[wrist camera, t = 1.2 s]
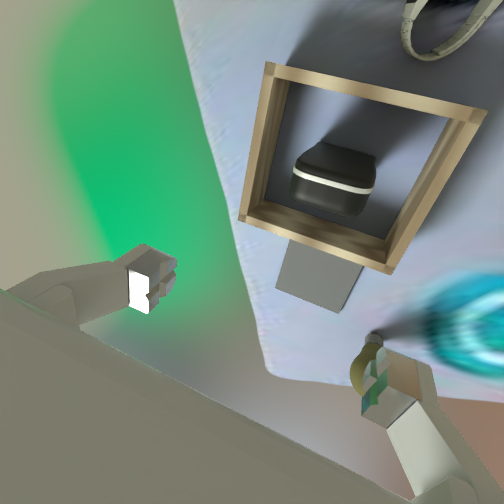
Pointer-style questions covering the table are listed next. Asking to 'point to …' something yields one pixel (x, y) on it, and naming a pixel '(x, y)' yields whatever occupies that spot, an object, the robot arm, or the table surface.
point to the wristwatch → (474, 21)
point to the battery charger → (333, 179)
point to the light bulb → (364, 361)
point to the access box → (328, 233)
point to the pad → (317, 276)
